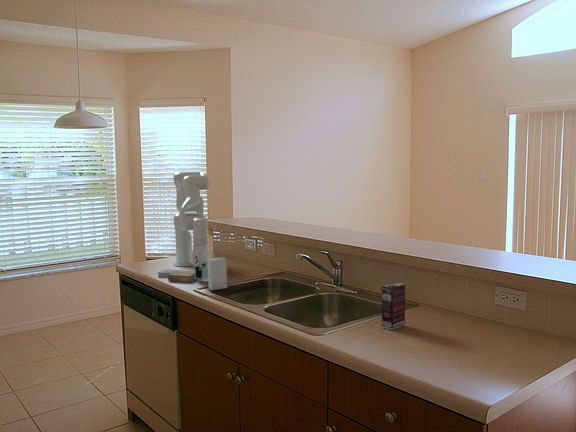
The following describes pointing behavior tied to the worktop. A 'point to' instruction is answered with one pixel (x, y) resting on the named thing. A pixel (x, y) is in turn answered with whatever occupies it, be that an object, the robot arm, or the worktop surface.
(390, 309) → the supplement box
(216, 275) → the skincare box
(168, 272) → the slate coaster
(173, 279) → the walnut slab
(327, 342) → the worktop surface
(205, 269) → the blue block
